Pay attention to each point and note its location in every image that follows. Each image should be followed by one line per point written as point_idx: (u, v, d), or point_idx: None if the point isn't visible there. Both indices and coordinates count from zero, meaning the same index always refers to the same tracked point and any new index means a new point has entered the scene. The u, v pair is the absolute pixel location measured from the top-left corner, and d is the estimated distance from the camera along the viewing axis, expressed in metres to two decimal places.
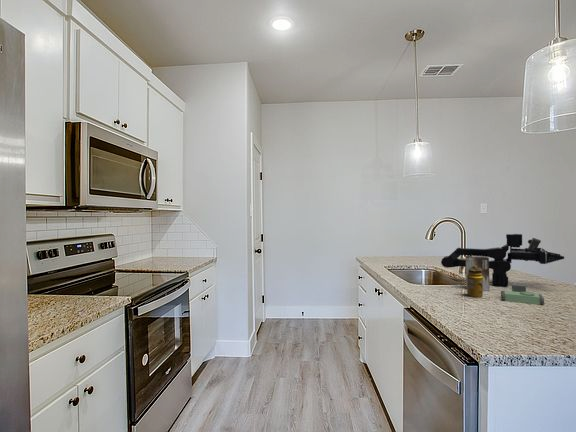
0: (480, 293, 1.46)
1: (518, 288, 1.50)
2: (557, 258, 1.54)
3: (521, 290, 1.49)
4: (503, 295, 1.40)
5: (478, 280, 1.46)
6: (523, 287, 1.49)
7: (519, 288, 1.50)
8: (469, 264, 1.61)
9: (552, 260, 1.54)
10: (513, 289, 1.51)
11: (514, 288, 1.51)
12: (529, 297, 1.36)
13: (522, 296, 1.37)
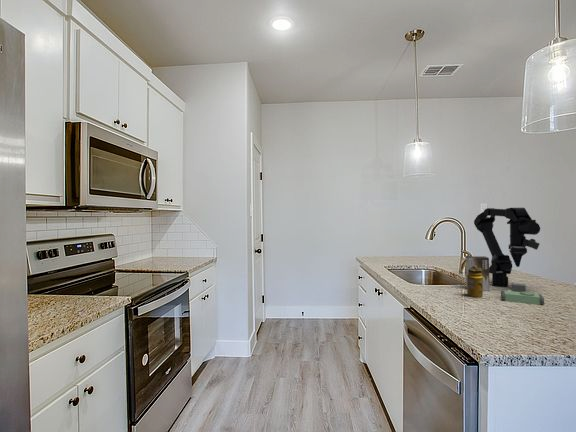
0: (480, 293, 1.46)
1: (518, 288, 1.51)
2: (516, 261, 1.55)
3: (521, 290, 1.50)
4: (503, 295, 1.40)
5: (478, 280, 1.46)
6: (523, 287, 1.50)
7: (519, 288, 1.50)
8: (469, 264, 1.61)
9: (514, 257, 1.55)
10: (513, 289, 1.52)
11: (514, 288, 1.51)
12: (529, 297, 1.36)
13: (522, 296, 1.37)
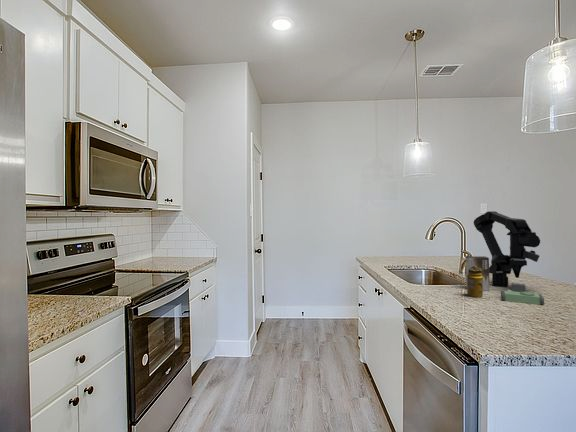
0: (480, 293, 1.46)
1: (518, 287, 1.51)
2: (516, 272, 1.57)
3: (521, 289, 1.51)
4: (503, 295, 1.40)
5: (478, 280, 1.46)
6: (523, 286, 1.50)
7: (519, 287, 1.51)
8: (469, 264, 1.61)
9: (513, 268, 1.58)
10: (513, 288, 1.52)
11: (514, 287, 1.52)
12: (529, 297, 1.36)
13: (522, 296, 1.37)
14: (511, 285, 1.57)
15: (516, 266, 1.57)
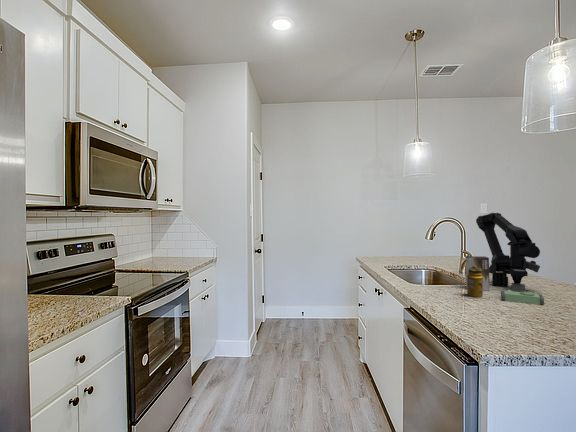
0: (480, 293, 1.46)
1: (518, 287, 1.52)
2: None
3: (520, 289, 1.51)
4: (503, 295, 1.40)
5: (478, 280, 1.46)
6: (522, 286, 1.51)
7: (518, 287, 1.51)
8: (469, 264, 1.61)
9: (514, 279, 1.57)
10: (513, 288, 1.53)
11: (514, 287, 1.52)
12: (529, 297, 1.36)
13: (522, 296, 1.37)
14: (511, 285, 1.58)
15: (517, 276, 1.56)
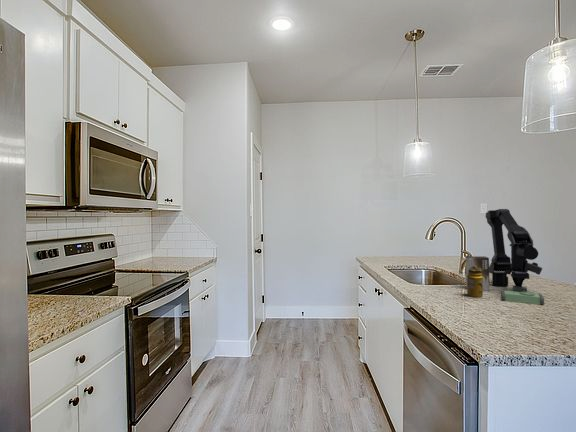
0: (480, 293, 1.46)
1: (519, 290, 1.46)
2: (517, 285, 1.51)
3: None
4: (503, 295, 1.40)
5: (478, 280, 1.46)
6: (524, 289, 1.45)
7: (520, 290, 1.45)
8: (469, 264, 1.61)
9: (515, 281, 1.51)
10: (514, 291, 1.47)
11: (515, 290, 1.46)
12: (529, 297, 1.36)
13: (522, 296, 1.37)
14: None
15: (518, 279, 1.50)
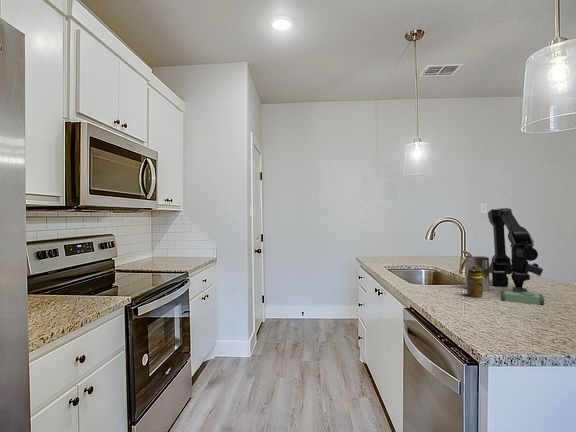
0: (480, 293, 1.46)
1: (519, 291, 1.43)
2: (518, 286, 1.48)
3: None
4: (503, 295, 1.40)
5: (478, 280, 1.46)
6: (524, 290, 1.42)
7: (520, 291, 1.43)
8: (469, 264, 1.61)
9: (515, 282, 1.49)
10: None
11: (515, 291, 1.44)
12: (529, 297, 1.36)
13: (522, 296, 1.37)
14: (512, 289, 1.50)
15: (518, 280, 1.48)
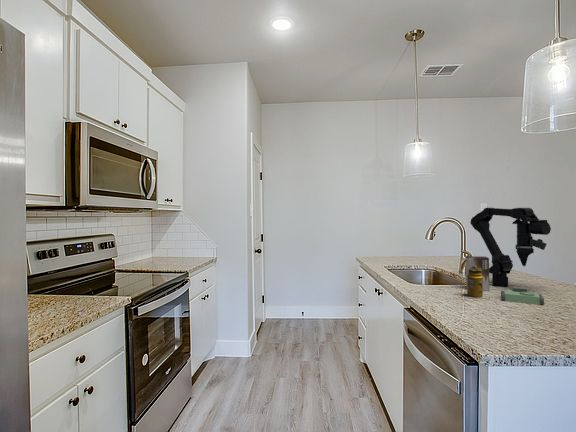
0: (480, 293, 1.46)
1: (519, 291, 1.44)
2: (522, 260, 1.57)
3: None
4: (503, 295, 1.40)
5: (478, 280, 1.46)
6: (524, 290, 1.43)
7: (520, 291, 1.44)
8: (469, 264, 1.61)
9: (520, 256, 1.57)
10: None
11: (515, 291, 1.45)
12: (529, 297, 1.36)
13: (522, 296, 1.37)
14: None
15: (523, 254, 1.57)
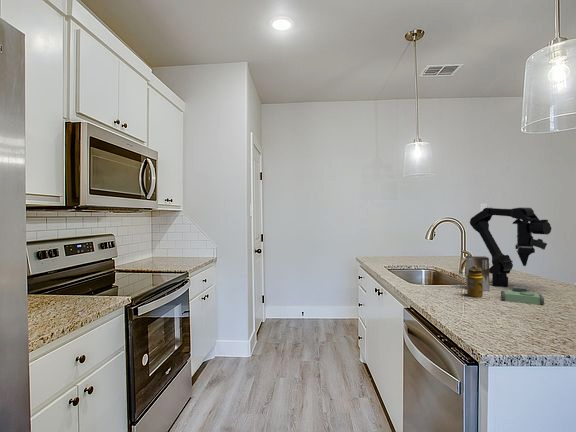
0: (480, 293, 1.46)
1: (519, 291, 1.45)
2: (523, 260, 1.57)
3: None
4: (503, 295, 1.40)
5: (478, 280, 1.46)
6: (524, 290, 1.44)
7: (520, 291, 1.44)
8: (469, 264, 1.61)
9: (521, 256, 1.58)
10: None
11: (515, 291, 1.45)
12: (529, 297, 1.36)
13: (522, 296, 1.37)
14: None
15: (523, 254, 1.57)
